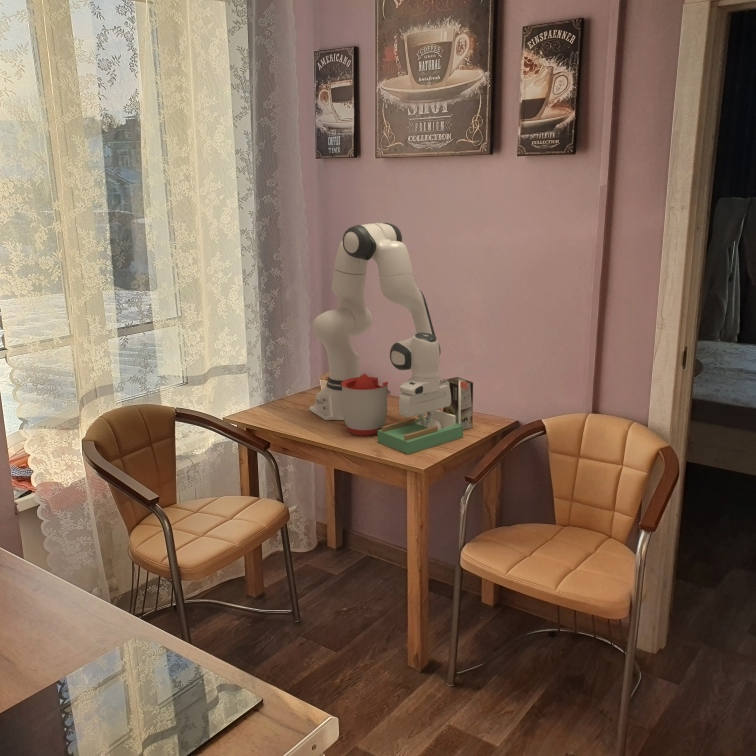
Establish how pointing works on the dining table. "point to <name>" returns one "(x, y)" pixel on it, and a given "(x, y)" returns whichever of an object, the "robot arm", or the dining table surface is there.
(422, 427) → the mini golf course
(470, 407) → the coffee box
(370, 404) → the citrus juicer
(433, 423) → the ball
